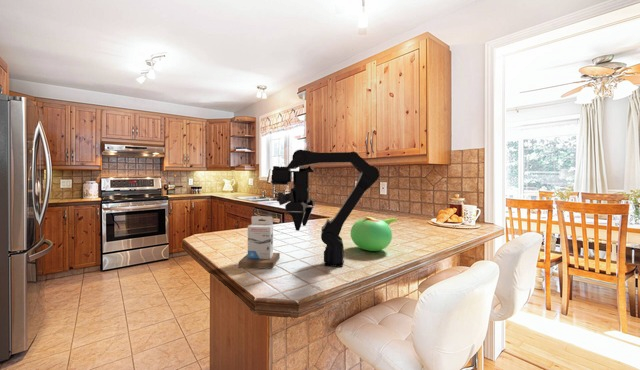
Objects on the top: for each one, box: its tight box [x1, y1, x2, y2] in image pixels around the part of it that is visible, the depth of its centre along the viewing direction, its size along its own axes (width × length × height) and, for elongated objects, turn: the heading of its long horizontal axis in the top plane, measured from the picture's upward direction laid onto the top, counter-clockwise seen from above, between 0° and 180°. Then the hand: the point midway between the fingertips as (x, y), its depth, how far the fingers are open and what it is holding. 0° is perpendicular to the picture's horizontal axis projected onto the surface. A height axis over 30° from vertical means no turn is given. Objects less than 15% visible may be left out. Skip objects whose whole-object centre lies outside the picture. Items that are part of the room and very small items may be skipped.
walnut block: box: [238, 252, 281, 269], centre depth 103 cm, size 12×12×2 cm
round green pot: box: [350, 216, 398, 252], centre depth 120 cm, size 18×17×15 cm
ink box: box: [247, 215, 274, 259], centre depth 102 cm, size 9×5×15 cm, turn 87°
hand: (301, 228), depth 101 cm, fingers open, 9 cm apart
